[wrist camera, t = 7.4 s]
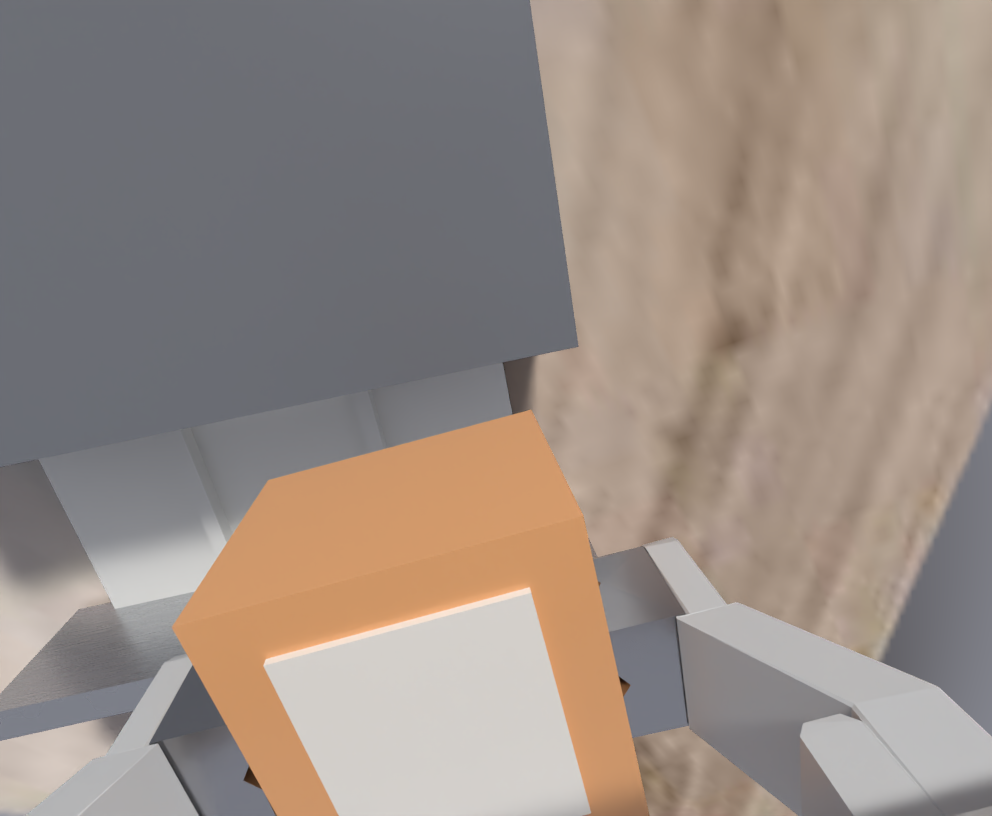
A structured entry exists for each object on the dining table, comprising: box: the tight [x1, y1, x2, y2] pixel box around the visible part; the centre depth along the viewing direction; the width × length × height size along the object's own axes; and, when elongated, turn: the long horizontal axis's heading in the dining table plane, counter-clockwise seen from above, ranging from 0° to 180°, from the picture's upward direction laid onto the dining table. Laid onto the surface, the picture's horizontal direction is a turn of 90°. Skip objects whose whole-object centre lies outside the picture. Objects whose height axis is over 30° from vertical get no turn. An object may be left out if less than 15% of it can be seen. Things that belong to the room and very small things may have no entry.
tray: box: [0, 362, 597, 741], centre depth 20 cm, size 16×22×6 cm
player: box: [0, 0, 578, 467], centre depth 16 cm, size 16×22×6 cm
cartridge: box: [172, 410, 649, 816], centre depth 8 cm, size 5×4×4 cm
